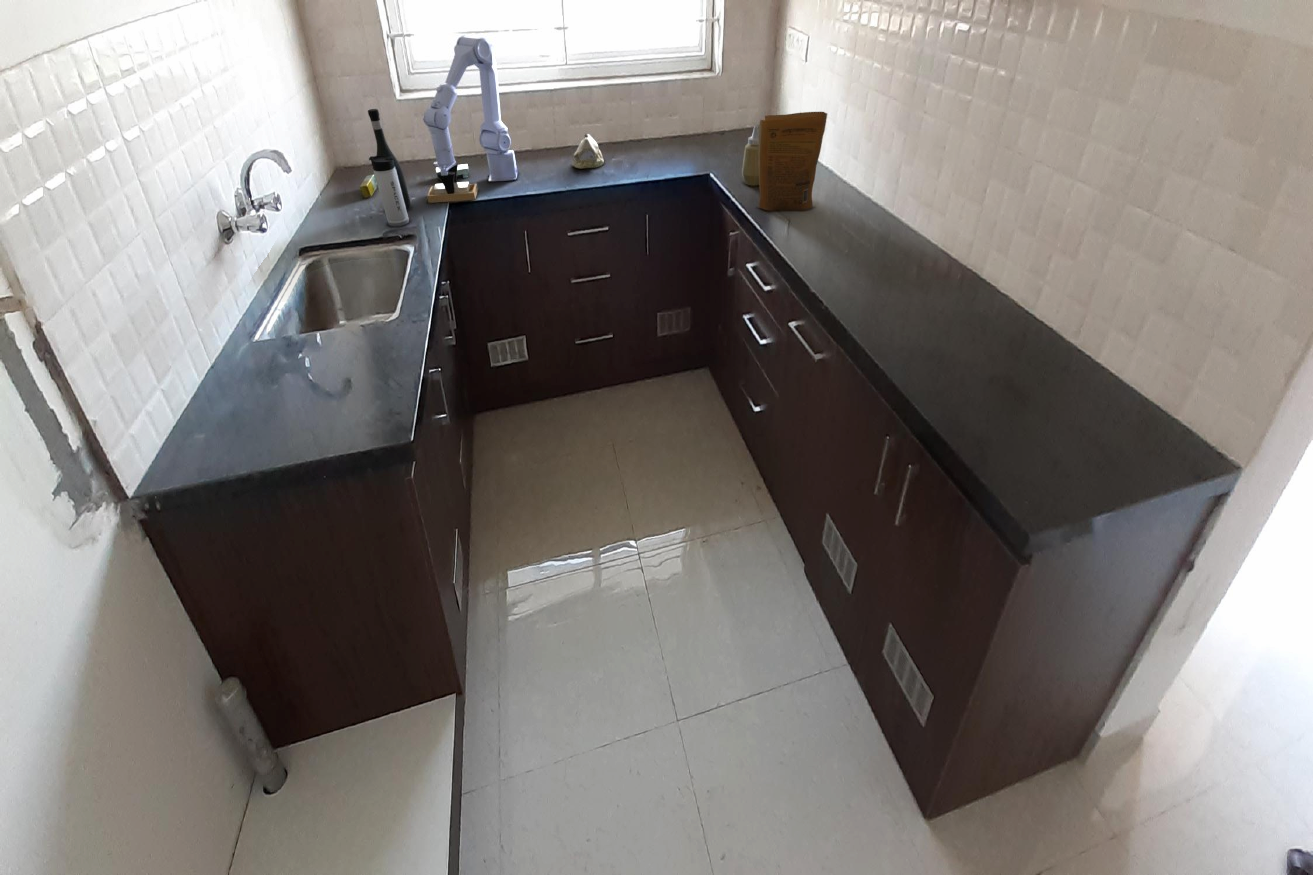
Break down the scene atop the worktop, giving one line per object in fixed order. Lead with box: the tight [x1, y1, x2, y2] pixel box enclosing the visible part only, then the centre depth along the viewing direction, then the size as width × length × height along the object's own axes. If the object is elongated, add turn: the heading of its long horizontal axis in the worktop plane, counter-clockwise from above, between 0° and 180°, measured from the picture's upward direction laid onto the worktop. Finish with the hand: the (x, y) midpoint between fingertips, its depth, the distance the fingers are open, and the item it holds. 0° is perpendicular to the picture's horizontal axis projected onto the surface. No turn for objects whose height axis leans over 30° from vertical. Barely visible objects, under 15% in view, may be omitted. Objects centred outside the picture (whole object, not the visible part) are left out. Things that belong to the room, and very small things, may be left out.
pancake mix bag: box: [758, 111, 828, 212], centre depth 209 cm, size 7×19×28 cm, turn 86°
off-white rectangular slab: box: [433, 181, 470, 195], centre depth 236 cm, size 11×5×3 cm, turn 95°
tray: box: [426, 183, 479, 204], centre depth 236 cm, size 15×9×2 cm, turn 95°
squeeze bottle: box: [741, 125, 759, 187], centre depth 231 cm, size 8×8×18 cm
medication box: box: [359, 173, 378, 199], centre depth 242 cm, size 12×3×4 cm, turn 7°
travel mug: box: [368, 155, 410, 228], centre depth 214 cm, size 6×7×20 cm
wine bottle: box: [367, 108, 412, 211], centre depth 220 cm, size 8×8×30 cm
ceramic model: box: [572, 133, 605, 169], centre depth 256 cm, size 14×11×10 cm
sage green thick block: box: [435, 163, 470, 182], centre depth 251 cm, size 11×5×3 cm, turn 105°
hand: (452, 190), depth 236 cm, fingers closed on off-white rectangular slab, 5 cm apart
